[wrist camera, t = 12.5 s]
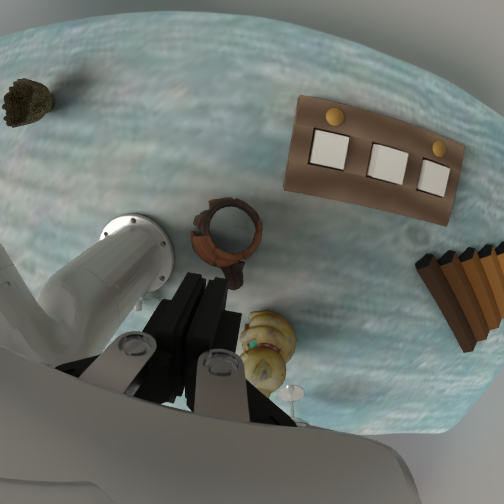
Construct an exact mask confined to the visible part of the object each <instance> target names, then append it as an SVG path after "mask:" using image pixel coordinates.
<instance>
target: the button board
mask: <svg viewBox="0 0 504 504" xmlns="http://www.w3.org/2000/svg"><path fill="white" fill-rule="evenodd" d="M315 130H319V131H324V132H328V133H333V134H337V135H341V136H345V137H349V142H348V148H347V153H346V158H345V164H344V169H339V168H334V167H330V166H325V165H320V164H315V163H311V162H309V156H310V150H311V144H312V139H313V133H314V131H315ZM373 144H376V145H382V146H385V147H389V148H392V149H396V150H399V151H402V152H405V153H408V159H407V164H406V169H405V173H404V178H403V183H402V185H401V184H397V183H393V182H390V181H386V180H382V179H378V178H374V177H372V176H369V175H367V172H368V167H369V162H370V157H371V152H372V146H373ZM464 150H465V146H464V145H462V144H459V143H457V142H455V141H452V140H450V139H448V138H445V137H443V136H440V135H438V134H435V133H433V132H430V131H427V130H425V129H422V128H419V127H417V126H414V125H411V124H408V123H405V122H402V121H399V120H396V119H393V118H390V117H387V116H384V115H381V114H377V113H374V112H370V111H367V110H363V109H360V108H356V107H352V106H348V105H345V104H340V103H336V102H332V101H328V100H323V99H319V98H314V97H309V96H304V95H300V96H299V98H298V102H297V108H296V114H295V120H294V127H293V133H292V139H291V144H290V150H289V156H288V162H287V168H286V174H285V179H284V185H283V188H284V191H290V192H296V193H301V194H306V195H312V196H317V197H322V198H327V199H332V200H337V201H342V202H347V203H351V204H356V205H361V206H365V207H370V208H374V209H379V210H383V211H387V212H391V213H396V214H400V215H404V216H408V217H412V218H416V219H420V220H423V221H427V222H431V223H435V224H439V225H442V226H446V227H447V225H448V221H449V218H450V214H451V210H452V206H453V202H454V198H455V194H456V190H457V186H458V181H459V176H460V171H461V166H462V161H463V156H464ZM422 159H423V160H427V161H430V162H433V163H436V164H439V165H441V166H444V167H447V168H450V171H449V176H448V181H447V185H446V190H445V194H444V197H442V196H439V195H436V194H433V193H430V192H426V191H423V190H420V189H418V188H416V187H417V183H418V178H419V174H420V169H421V164H422Z"/></svg>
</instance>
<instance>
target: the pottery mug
mask: <svg viewBox="0 0 504 504" xmlns="http://www.w3.org/2000/svg"><path fill="white" fill-rule="evenodd" d="M208 202H209V210H205V211H203V212H201V213H200V214H199V215H197V216H196V217H195V219H194V222H193V224H194V225H196V226H197V228H198V229H199V230H200V231H201V233H202V234H203V235H202V236H196V235H195V232H194V231H191V241H192V247H193V249H194V251H195V252H196V254H197V255H198V256H199V257H200V258H201V259H203V260H204V261H205V262H206V263H208V264H210V265H212V266H214V267H218V268H221V270H222V271H223V273H224V275H225V279H229V283H228V289H230V290H237V289H239V288H240V287H241V286H242V285H243V272H242V269H243V266H244V265H245V262H243V261H240V260H241V259H243V258H244V259H245V260H246V259H248V258H249V257H250V256H251V254H252V253H253V252H254V251H255V250H256V248H257V247H258V245H259V243H260V241H261V237H262V223H261V220H260V218H259V215H258V214H257V212H256V211H255V210H254V209H253V208H252V207H251V206H250V205H249V204H247V203H246V202H244V201H242V200H239V199H233V198H221V199H215V200H210V201H208ZM229 206H232V207H238V208H240V209H242V210H244V211H245V212H246V213H247V214H248V215H249V216H250V217H251V219H252V221H253V222H254V224H255V229H256V232H255V235H254V239H253V241H252V243H251V244H250V246H249V247H248V248H247V249H245V250H244V251H242V252H239V253H228V252H225V251H223V250H221V249H220V248H218V247H217V246H216V244H215V243H214V242H213V240H212V238H211V235H210V232H209V225H210V221H211V219H212V217H213V215H214V214H215V213H216V211H218V210H219V209H221V208H224V207H229Z"/></svg>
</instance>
